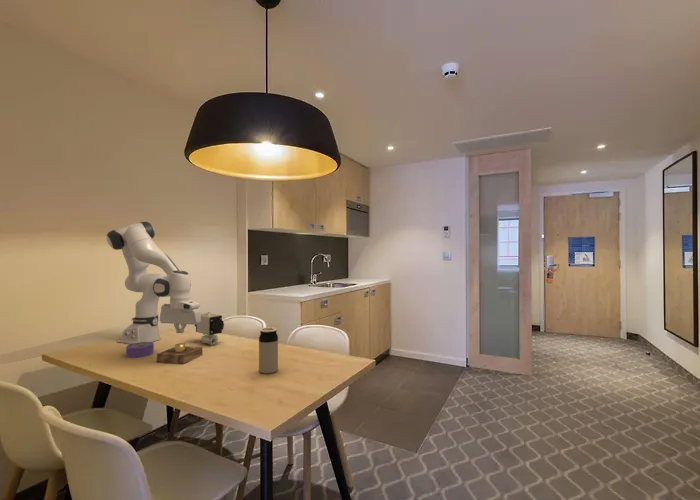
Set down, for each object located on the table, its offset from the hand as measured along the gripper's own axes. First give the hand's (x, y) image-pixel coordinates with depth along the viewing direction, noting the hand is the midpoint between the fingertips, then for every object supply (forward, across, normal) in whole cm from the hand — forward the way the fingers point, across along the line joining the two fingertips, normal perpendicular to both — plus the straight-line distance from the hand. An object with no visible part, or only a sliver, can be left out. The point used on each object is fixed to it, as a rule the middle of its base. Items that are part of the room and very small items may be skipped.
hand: (180, 332), depth 163 cm
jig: (+12, 0, 0) cm, 13 cm away
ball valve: (+13, -2, +27) cm, 30 cm away
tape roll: (+13, -25, +3) cm, 28 cm away
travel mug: (+13, +49, -8) cm, 51 cm away
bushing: (+12, 0, 0) cm, 13 cm away
